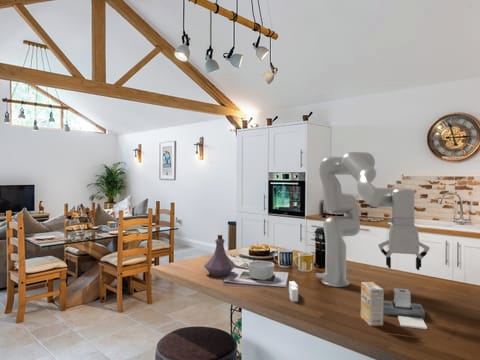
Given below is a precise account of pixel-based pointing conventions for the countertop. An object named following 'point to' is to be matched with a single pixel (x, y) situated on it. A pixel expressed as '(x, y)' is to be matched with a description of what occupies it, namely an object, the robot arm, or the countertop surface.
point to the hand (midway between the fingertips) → (403, 268)
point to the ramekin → (261, 269)
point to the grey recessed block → (403, 310)
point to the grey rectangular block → (402, 298)
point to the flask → (219, 260)
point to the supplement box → (372, 303)
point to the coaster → (412, 322)
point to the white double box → (293, 291)
